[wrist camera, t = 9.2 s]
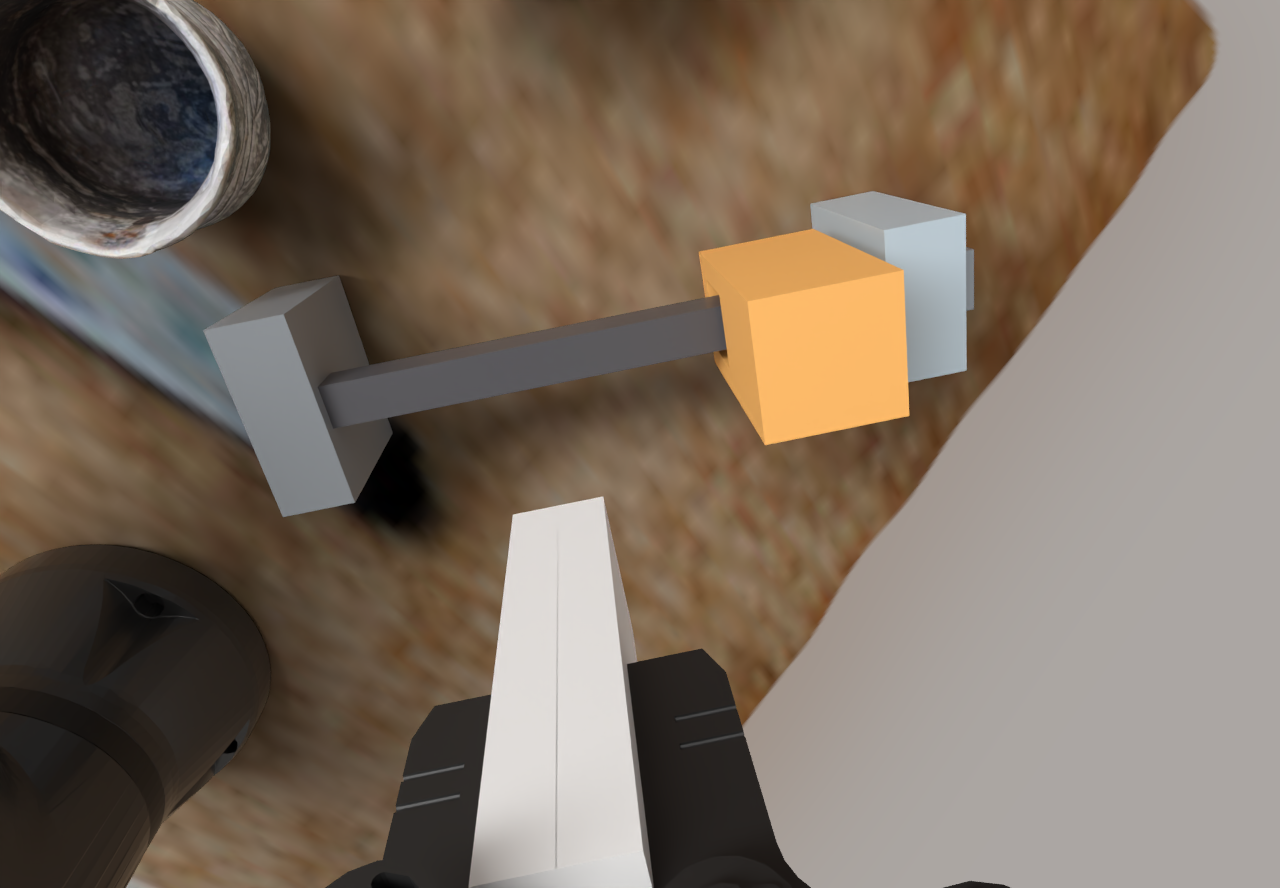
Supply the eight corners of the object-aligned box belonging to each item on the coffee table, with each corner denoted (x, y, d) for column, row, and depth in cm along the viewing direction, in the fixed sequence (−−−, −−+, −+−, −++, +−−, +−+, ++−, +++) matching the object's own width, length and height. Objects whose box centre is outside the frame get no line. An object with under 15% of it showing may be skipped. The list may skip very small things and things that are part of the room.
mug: (191, 276, 34) (56, 335, 25) (-73, 27, 30) (-355, -12, 21) (344, 133, 33) (258, 140, 24) (88, -155, 28) (-143, -285, 19)
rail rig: (333, 444, 38) (270, 535, 30) (274, 288, 35) (184, 341, 27) (904, 329, 38) (996, 388, 30) (897, 163, 35) (998, 178, 27)
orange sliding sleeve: (714, 362, 35) (765, 445, 26) (698, 251, 32) (747, 301, 24) (822, 340, 35) (909, 416, 26) (813, 228, 33) (903, 270, 24)
